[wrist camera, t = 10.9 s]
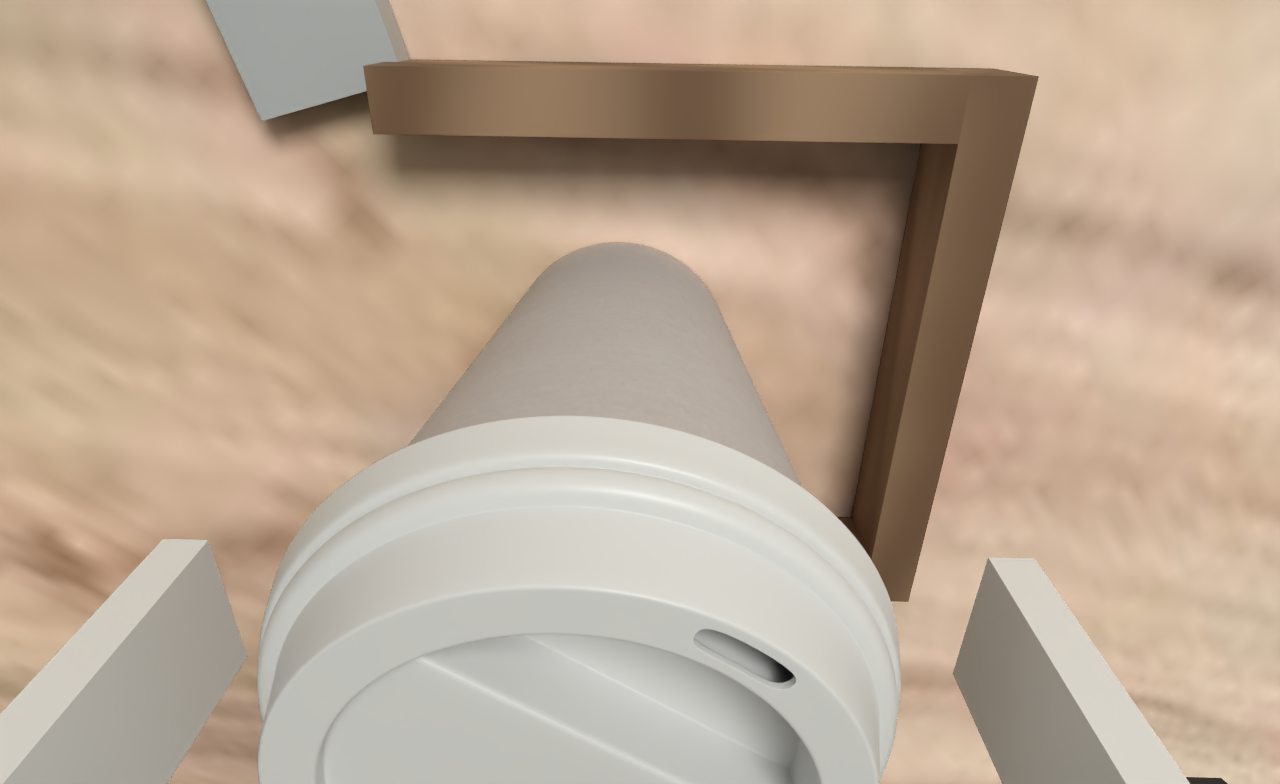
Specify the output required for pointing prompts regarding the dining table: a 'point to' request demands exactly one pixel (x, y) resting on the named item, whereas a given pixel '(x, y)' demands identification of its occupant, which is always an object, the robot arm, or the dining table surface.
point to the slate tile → (306, 48)
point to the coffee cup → (583, 573)
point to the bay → (797, 111)
